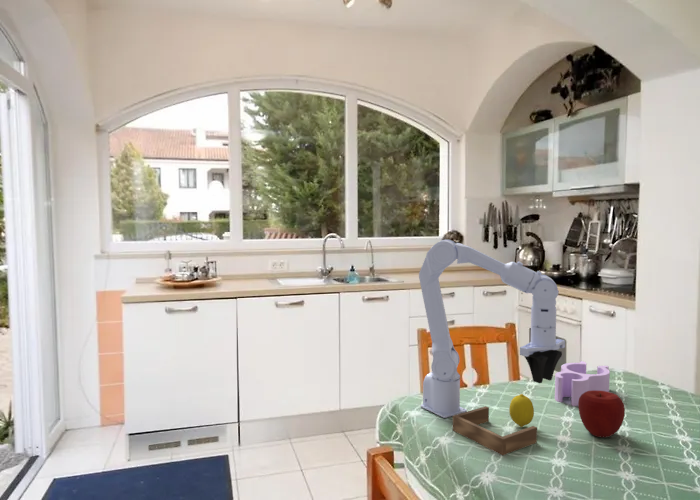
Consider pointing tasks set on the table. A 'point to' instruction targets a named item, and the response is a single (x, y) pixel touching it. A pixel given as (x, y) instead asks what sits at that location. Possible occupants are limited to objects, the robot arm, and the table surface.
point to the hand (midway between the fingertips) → (542, 380)
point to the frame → (501, 444)
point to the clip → (579, 381)
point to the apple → (601, 412)
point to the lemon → (521, 410)
